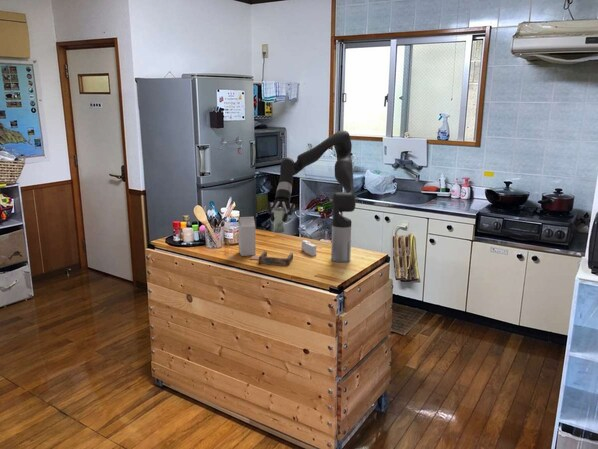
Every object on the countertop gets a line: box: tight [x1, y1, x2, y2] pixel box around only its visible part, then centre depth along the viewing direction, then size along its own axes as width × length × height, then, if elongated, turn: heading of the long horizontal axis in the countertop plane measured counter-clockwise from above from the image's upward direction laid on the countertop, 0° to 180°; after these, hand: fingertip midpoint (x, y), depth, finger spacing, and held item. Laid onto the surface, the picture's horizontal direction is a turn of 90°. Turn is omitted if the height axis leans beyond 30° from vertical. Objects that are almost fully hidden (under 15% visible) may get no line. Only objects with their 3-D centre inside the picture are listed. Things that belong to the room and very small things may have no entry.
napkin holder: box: [301, 239, 317, 257], centre depth 253 cm, size 15×11×6 cm
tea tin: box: [272, 206, 286, 234], centre depth 243 cm, size 6×6×12 cm
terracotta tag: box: [249, 255, 260, 261], centre depth 242 cm, size 5×5×1 cm
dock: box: [258, 250, 294, 266], centre depth 238 cm, size 14×10×3 cm
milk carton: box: [237, 216, 257, 257], centre depth 247 cm, size 7×7×19 cm
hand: (278, 220), depth 242 cm, fingers closed on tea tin, 5 cm apart
